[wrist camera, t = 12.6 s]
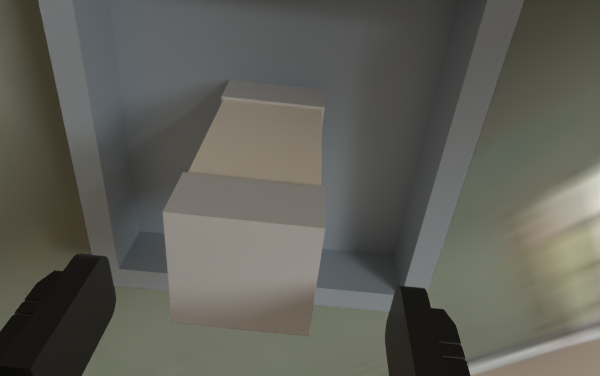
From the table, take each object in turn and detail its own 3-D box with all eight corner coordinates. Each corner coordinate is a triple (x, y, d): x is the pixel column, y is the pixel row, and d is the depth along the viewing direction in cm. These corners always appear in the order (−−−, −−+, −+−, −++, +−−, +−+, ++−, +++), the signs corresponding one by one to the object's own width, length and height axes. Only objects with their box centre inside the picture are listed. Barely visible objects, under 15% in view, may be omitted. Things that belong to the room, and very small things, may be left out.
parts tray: (498, -55, 18) (538, -43, 14) (407, 261, 27) (419, 314, 23) (76, -99, 18) (17, -96, 14) (126, 234, 26) (98, 284, 23)
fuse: (324, 89, 20) (325, 228, 12) (314, 171, 22) (308, 336, 14) (229, 79, 20) (162, 212, 12) (228, 162, 22) (171, 322, 14)
